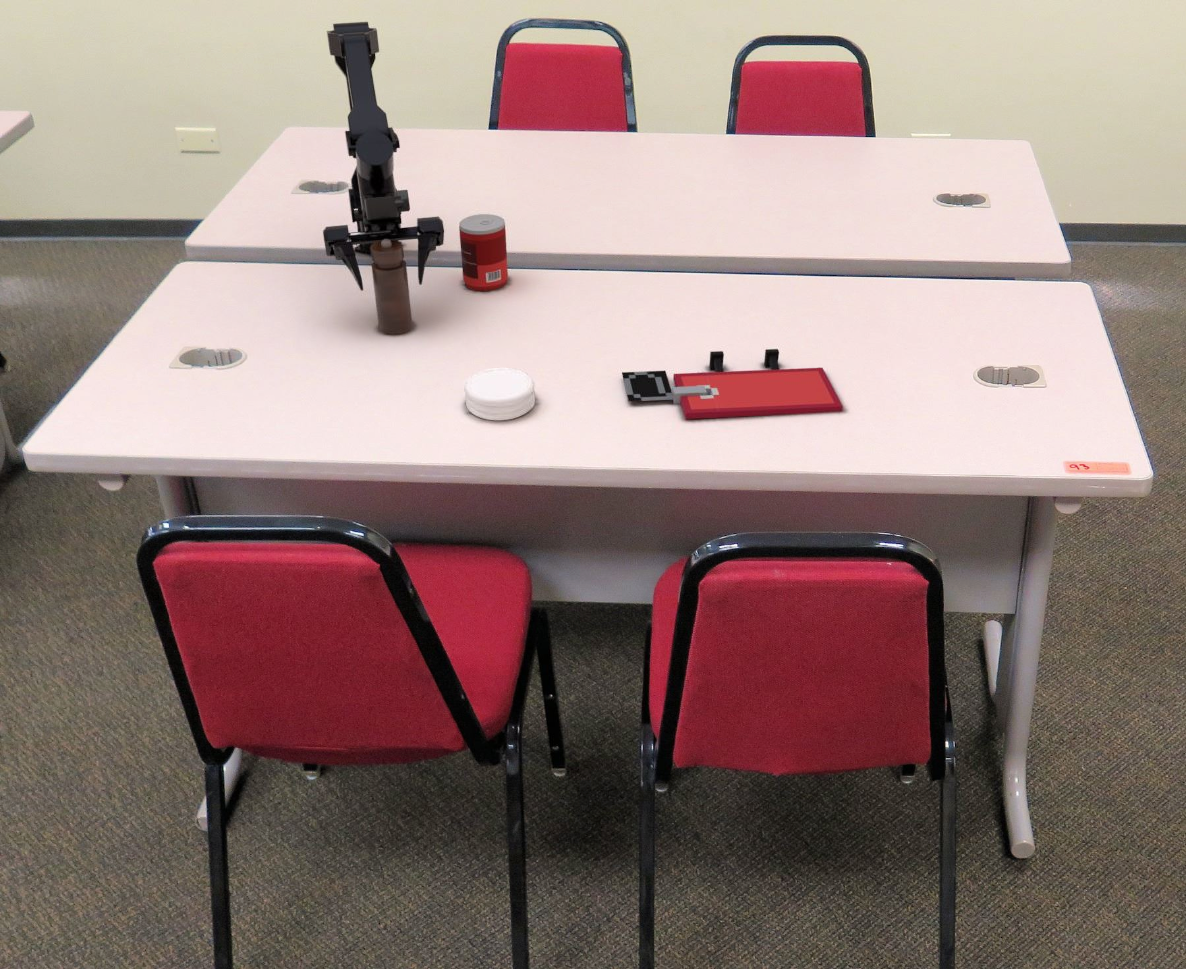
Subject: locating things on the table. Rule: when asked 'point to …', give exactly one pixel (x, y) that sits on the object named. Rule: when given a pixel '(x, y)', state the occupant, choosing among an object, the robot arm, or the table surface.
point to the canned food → (483, 252)
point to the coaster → (499, 394)
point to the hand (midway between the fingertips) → (391, 286)
